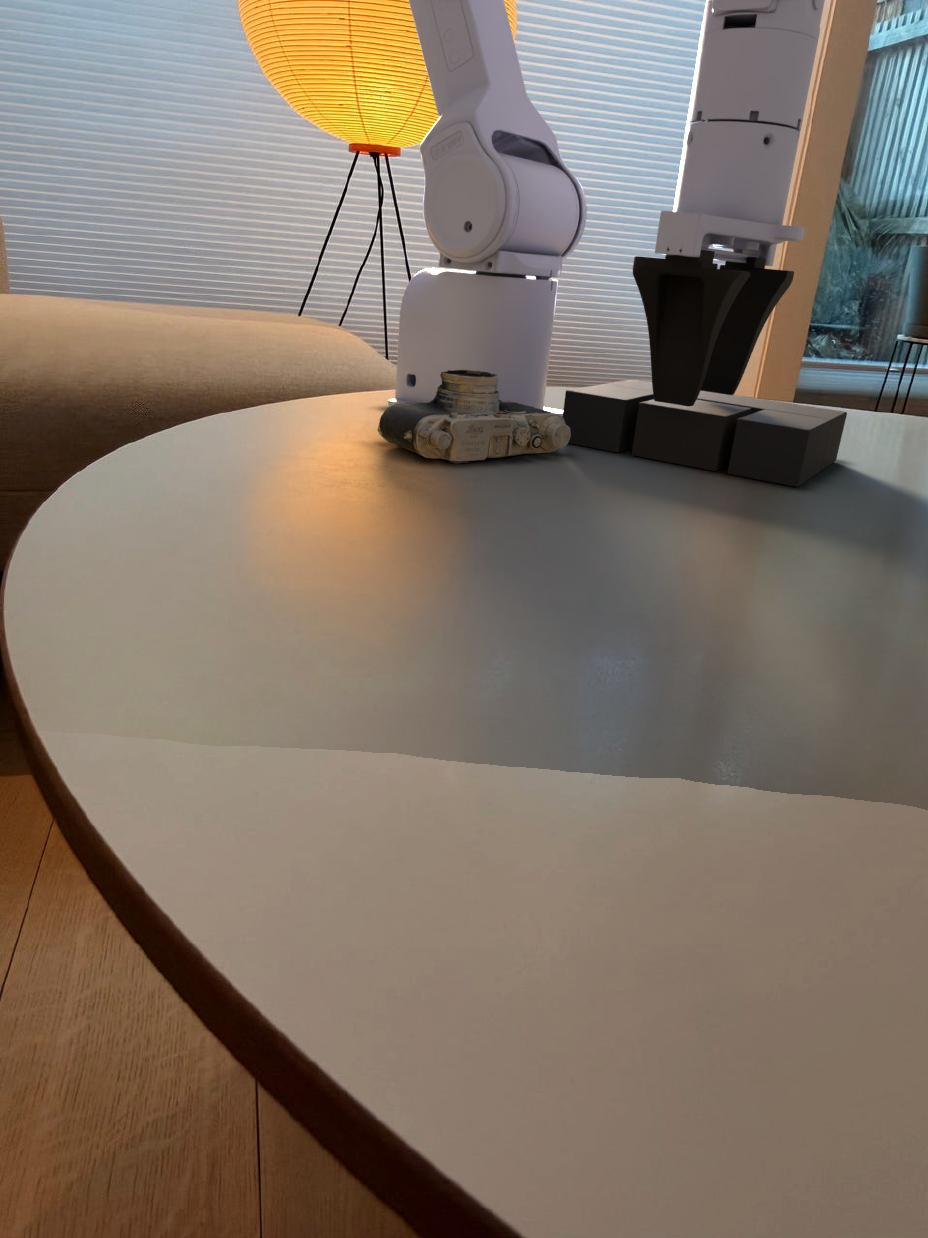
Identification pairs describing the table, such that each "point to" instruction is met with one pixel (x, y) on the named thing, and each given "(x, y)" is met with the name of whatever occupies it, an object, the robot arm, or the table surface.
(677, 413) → the pad piece
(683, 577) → the table surface
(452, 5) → the robot arm
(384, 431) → the camera
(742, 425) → the base pad
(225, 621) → the table surface
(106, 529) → the table surface
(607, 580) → the table surface
